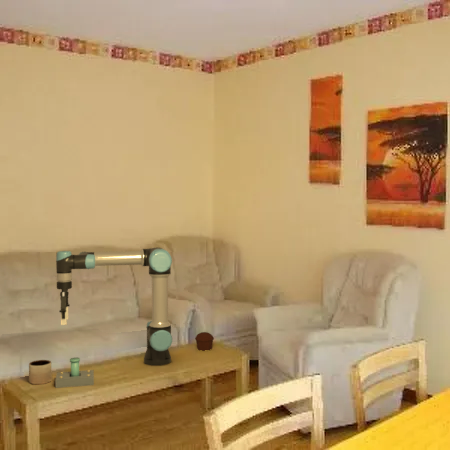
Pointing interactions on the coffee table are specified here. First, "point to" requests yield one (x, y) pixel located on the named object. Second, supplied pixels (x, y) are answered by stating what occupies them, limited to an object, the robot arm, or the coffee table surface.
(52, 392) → the coffee table surface
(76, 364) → the plug
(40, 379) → the planter
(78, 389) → the coffee table surface
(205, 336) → the muffin
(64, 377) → the grey socket block
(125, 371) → the coffee table surface
